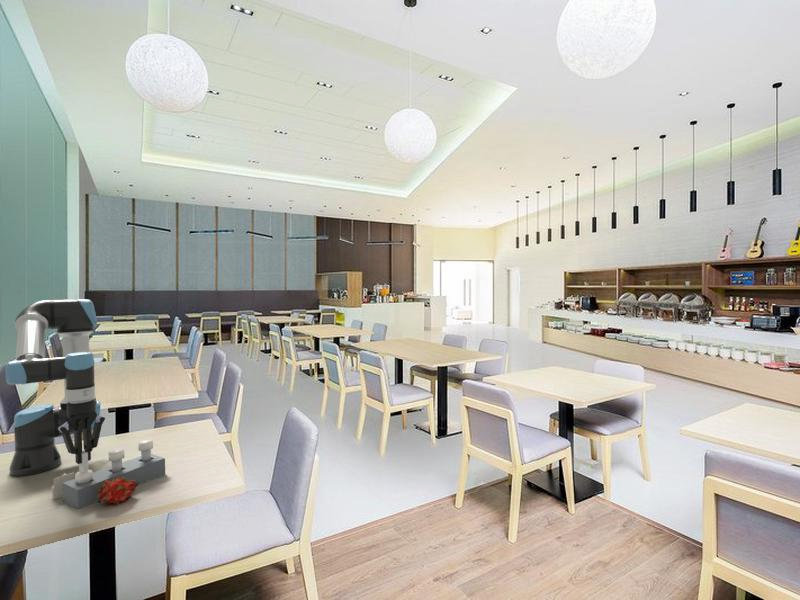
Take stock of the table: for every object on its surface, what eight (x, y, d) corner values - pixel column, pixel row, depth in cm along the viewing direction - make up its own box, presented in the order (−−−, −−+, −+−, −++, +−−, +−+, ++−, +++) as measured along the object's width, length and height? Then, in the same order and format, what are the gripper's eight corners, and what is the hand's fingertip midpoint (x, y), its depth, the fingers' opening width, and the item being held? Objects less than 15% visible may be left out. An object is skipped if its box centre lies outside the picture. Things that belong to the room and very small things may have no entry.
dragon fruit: (92, 513, 134) (135, 504, 143) (101, 504, 130) (144, 495, 139) (90, 486, 138) (132, 479, 147) (99, 476, 134) (141, 469, 143)
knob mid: (106, 475, 148) (105, 452, 147) (120, 470, 152) (119, 447, 151) (113, 478, 145) (112, 454, 145) (127, 472, 149) (126, 450, 149)
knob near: (73, 498, 139) (72, 473, 139) (89, 492, 143) (88, 468, 143) (80, 501, 137) (79, 476, 137) (96, 495, 141) (95, 471, 140)
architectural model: (50, 497, 142) (50, 475, 142) (76, 489, 148) (75, 468, 147) (53, 500, 140) (52, 478, 140) (79, 492, 146) (78, 471, 145)
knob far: (136, 464, 156) (135, 442, 156) (149, 459, 160) (148, 438, 160) (143, 467, 154) (142, 445, 154) (156, 462, 158) (155, 441, 158)
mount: (63, 501, 139) (62, 482, 139) (149, 468, 163) (149, 453, 163) (78, 508, 134) (77, 489, 134) (165, 474, 158) (164, 458, 158)
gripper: (62, 406, 131) (65, 482, 132) (109, 397, 143) (111, 466, 143) (51, 403, 135) (54, 477, 136) (97, 394, 146) (100, 462, 147)
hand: (83, 471), depth 140 cm, fingers closed
